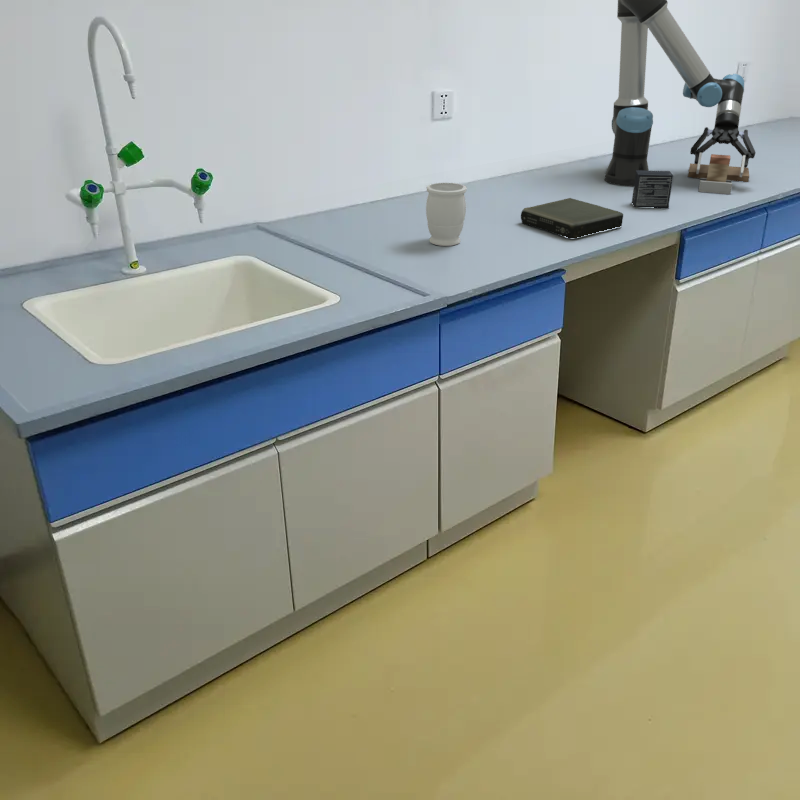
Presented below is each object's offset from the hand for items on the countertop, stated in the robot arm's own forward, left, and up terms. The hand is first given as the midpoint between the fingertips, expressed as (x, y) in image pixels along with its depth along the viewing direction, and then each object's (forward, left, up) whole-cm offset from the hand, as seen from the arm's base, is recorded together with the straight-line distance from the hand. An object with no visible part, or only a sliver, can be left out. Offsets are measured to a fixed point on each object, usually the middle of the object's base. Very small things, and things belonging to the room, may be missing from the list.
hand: (719, 173), depth 267 cm
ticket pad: (-1, +1, -6) cm, 6 cm away
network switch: (-40, -57, -6) cm, 69 cm away
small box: (-20, -27, -6) cm, 34 cm away
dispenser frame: (-1, +1, -6) cm, 6 cm away
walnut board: (0, +23, -6) cm, 24 cm away
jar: (-70, -84, -6) cm, 109 cm away
